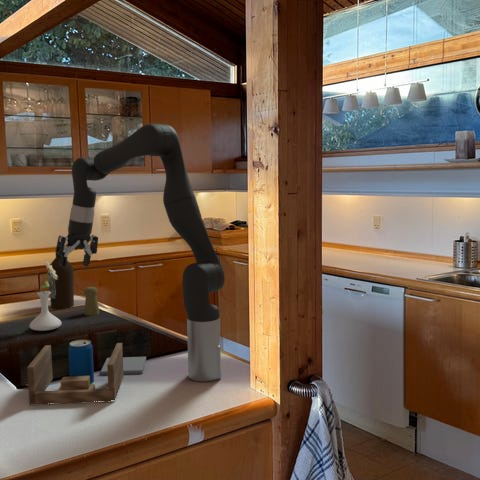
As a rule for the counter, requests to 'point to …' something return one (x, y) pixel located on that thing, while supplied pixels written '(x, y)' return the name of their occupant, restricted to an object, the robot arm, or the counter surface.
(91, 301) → the cork
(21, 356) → the counter surface
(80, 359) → the beverage can
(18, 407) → the counter surface
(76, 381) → the upper offcut
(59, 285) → the olive oil
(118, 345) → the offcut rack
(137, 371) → the grey mat
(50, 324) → the flower in vase
